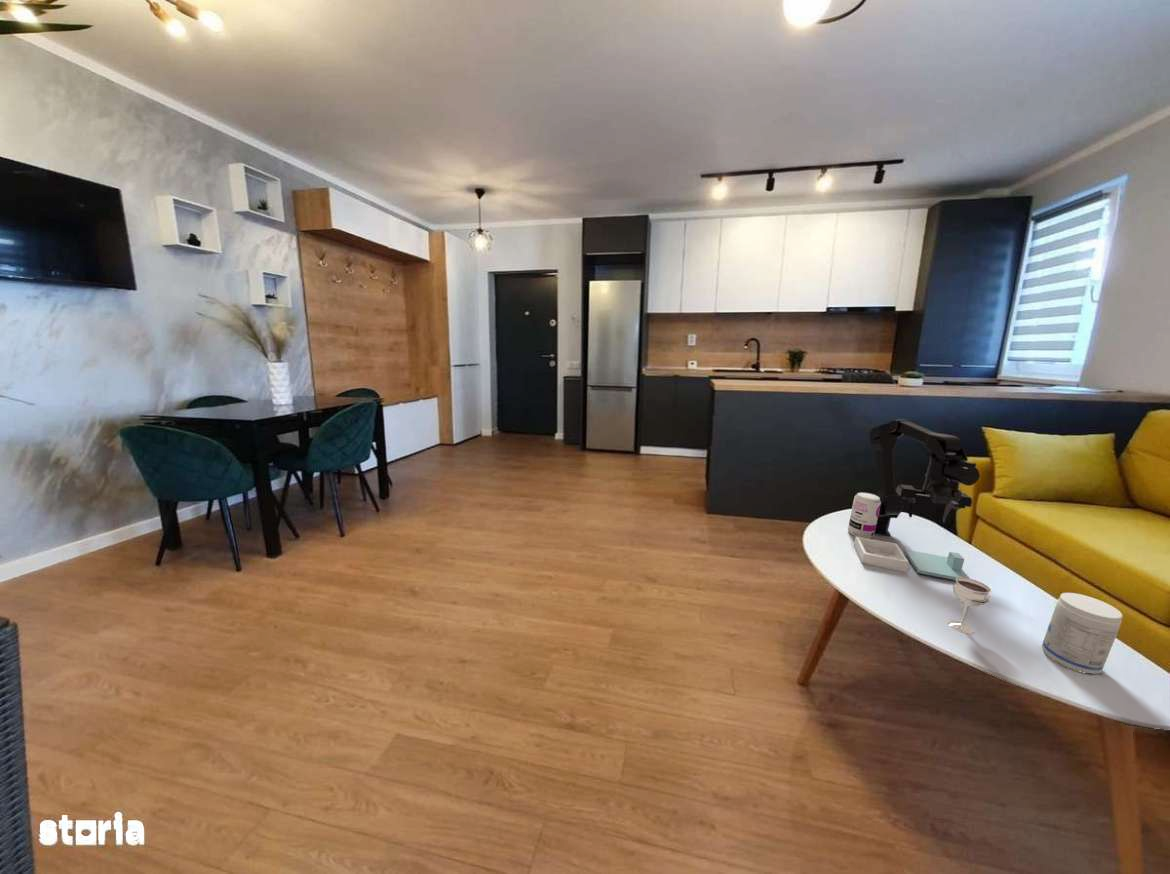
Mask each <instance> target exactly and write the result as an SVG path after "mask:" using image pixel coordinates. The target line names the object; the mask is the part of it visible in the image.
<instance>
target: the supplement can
mask: <svg viewBox="0 0 1170 874" xmlns="http://www.w3.org/2000/svg"><path fill="white" fill-rule="evenodd" d="M853 497H854V499H853V502H852V507H851V512H850V516H849V521H848V527H847V531H848V533H849V534H851V535H852V536H854V537H855V538H856V537H862V538H868V539H872V538H873V537H875V534H876V533H875V528H876V524H877V519H878V515H879V510H880V506H881V501H880V498H879V497H878V496H876V494H874V493H870V492H864V491H863V492H857V493H856V494H855V496H853Z"/></svg>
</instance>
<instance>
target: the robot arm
mask: <svg viewBox="0 0 1170 874" xmlns="http://www.w3.org/2000/svg"><path fill="white" fill-rule="evenodd" d="M868 435H869V436H868V437H869V442H870V445H871V447H872V448H873V449H874V450H875V454H876V467H877V480H878V481H877V482H878V491H877V493H876V494H875V495H876V496H878V497H879V498H880V501H881V506H880V510H879V515H878V519H877V524H876V528H875V533H874V534H877V535H883V536H889V537H891V532H890V531H889V528H890V523H891V520H892V519H897V518H898V517H899V515H901V513H902V512H903V511H904V508H905V504H906V508H907V509H906V510H907V514H908V516H909V518H912V517H913V513H914V506H915V503H916V501H917V500H916V499H915V498H916V497H923V498H930V501H931V502H932V503H934V504H940V505H945V509H944V512H943V517H942V523H944V524H947V522H948V521H949V519H950V518H952V517H953V515H954V514H955V513H956V512H957V511H959V510H960V509H966V507H968V508H971V507H972V505H973V502H974V500H973V498H972V497H971V496H969V494H967V493H965V492H962V491H961V489H954V488H951V486H950V485H951V481H954V482H956V483H959V484H961V485H964V486H968V487H969V486H970V487H971V486H973V485H975V484H976V483H977V482H978V481H979V479H980V475H981V474H980V471H979V469H978V468H977V467H976V466H977V464H976V463H975V462H971V461H968V460H969V459H968V457H967V454H966V451H965V449H964V447H963V444H962V439H961V438H959V437H958V436H955V435H951V434H946V433H939V432H934V431H932V430H930V429H928V428H926V427H923V426H921V425H918V424H916V423H914V422H912V421H910V420H908V419H897V418H896V419H893V420H891V421H889V422H887V423H883V424H881V425H879V426H875V427H873V428H871V430H870V431H869V434H868ZM904 435H905V436H907V437H909V438H911V439H914V440H916V441H918V442H920V443H922V444H923V445H924V447H925V448H926V449H927V450H928V451H930V452H928V453H925V454H924V457H926V458H928V459H929V463H928V466H927V471H926V473H925V474H924V478H925V480H924V483H923V485H922V486H921V489H922V490H921V489H916V488H915V487H914V486H913V485H910V484H909V485H908V484H898V485H897V487H896V482H895V479H896V478H895V467H894V454H893V453H894V452H893V451H894V449H895V448H896V446H897V444H898V439H899V438H901V437H902V436H904ZM904 501H905V504H904Z"/></svg>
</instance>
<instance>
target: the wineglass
mask: <svg viewBox="0 0 1170 874" xmlns="http://www.w3.org/2000/svg"><path fill="white" fill-rule="evenodd" d="M969 578H970V577H969ZM969 578H963V577H959V578H956V580H955V583H954V585H953V587H952V591H953V594H954V596H955V597H956V599H958V601H960V602H962V603H963V604H964V606H963V607H964V608H963V612H962V617H961V621H958V620H949V621H948V625H949V626H950V627H951V628H952V629H954V630H956V631H958V632H960V631H961V632H960V633H964V634H971V635H972V634H974V632H975V631H974V629H973V628H972V627H971V626H969V625H968V624H966V623H965V619H966V616H967V615H968V611H969V608H970V607H972V606H973V607H979V606H983V605H986V603H988V602H989V599H990V594H989V593H991V591H992V589H991V588H990V587H989V586H988V585H986V584H985V583H983V582H981V581H978V580H976V579H973V578H970V579H969Z"/></svg>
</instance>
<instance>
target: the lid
mask: <svg viewBox="0 0 1170 874" xmlns="http://www.w3.org/2000/svg"><path fill="white" fill-rule="evenodd" d="M904 555H905V556H906V558H907V559H908V561H910V562H911V564H912V566H913V568H914V569H915V571H916V572H917V573H918V574H922V575H928V576H931V577H938V578H943V579H949V580H953V581H956V578H959V577H963V578H969V579H971V578H970V576H969V575H968V574H967V573H966V572H965V570H964V569H963V566H964V563H965V558H964V557H963V556H962V555H961V554H960V553H959V552H954V551H949V552H948V556H945V555H938V554H933V553H927V552H921V551H916V550H911V549H904Z"/></svg>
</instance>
